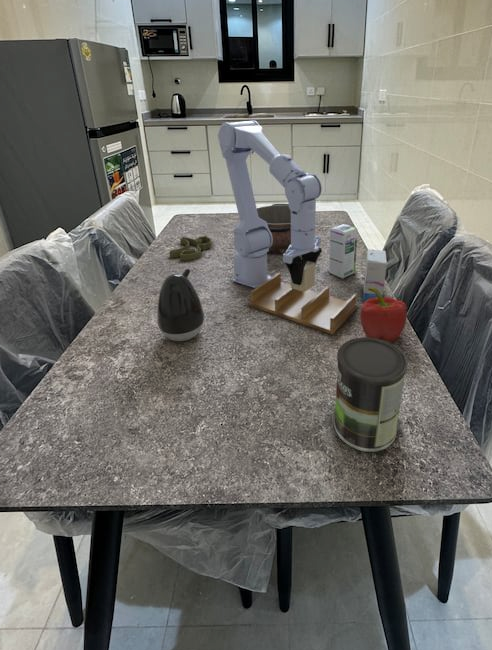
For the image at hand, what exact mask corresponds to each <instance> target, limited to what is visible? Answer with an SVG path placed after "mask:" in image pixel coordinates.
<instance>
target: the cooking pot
mask: <svg viewBox="0 0 492 650" xmlns="http://www.w3.org/2000/svg"><path fill="white" fill-rule="evenodd" d="M256 208H257V212H258V216H259V218H261V219H262V220H264V221H266V222H267V224H268V228H269V230H270V232H271V234H272V237H273V243H272V246H271V247H269V251H268V252H267V254H272V255H273V254H274V255H283V254H284V253H285V252H286V251H287V249H288V248H289V246H290V244H291V210H290V209H289V203H273V204H271V205H265V206H260V207H256ZM255 229H257V228H254V229H251V230H255ZM251 230H248V231H251ZM248 231H247V232H248Z"/></svg>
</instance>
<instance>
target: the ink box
mask: <svg viewBox="0 0 492 650" xmlns="http://www.w3.org/2000/svg"><path fill="white" fill-rule="evenodd" d="M386 252H387V251H386V250H382V249H381V250H379V249H372V248H368V249H367V252H366V260H365V269H364V277H363V278H364V279H363V303H364V302H365V301H366V300H368V299H370V298H374V297H375V298H378V297H377V295H376V293H375V292H374V291H373V292H372V291H370V290H368V288H370V287H373V288H376V289H377V290H378V291H379V292H380V293H381V295H382V297H383V298H384V289H385V283H386V274H387V265H388V262H387V261H388V259H387V253H386Z"/></svg>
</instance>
